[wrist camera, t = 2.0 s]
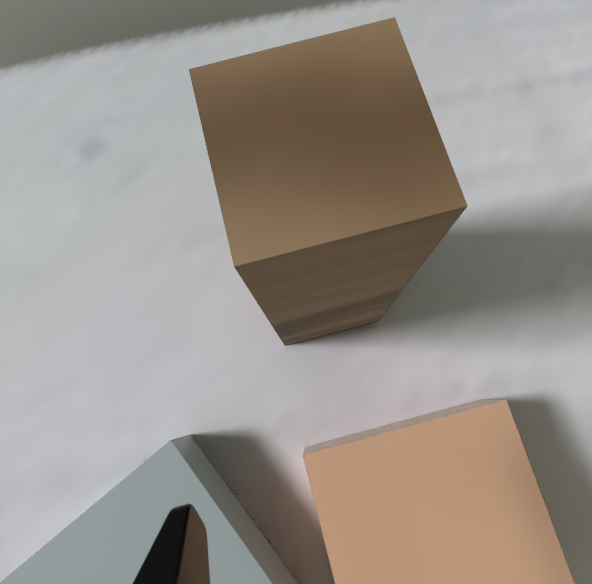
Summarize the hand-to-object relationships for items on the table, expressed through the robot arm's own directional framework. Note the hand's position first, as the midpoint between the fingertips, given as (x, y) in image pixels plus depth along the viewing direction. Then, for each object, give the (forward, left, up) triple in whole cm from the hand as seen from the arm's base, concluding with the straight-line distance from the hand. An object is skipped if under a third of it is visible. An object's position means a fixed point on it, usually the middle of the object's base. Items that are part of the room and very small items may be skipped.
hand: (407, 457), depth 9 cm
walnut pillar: (+3, -6, -13) cm, 15 cm away
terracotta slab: (-4, +4, -13) cm, 14 cm away
